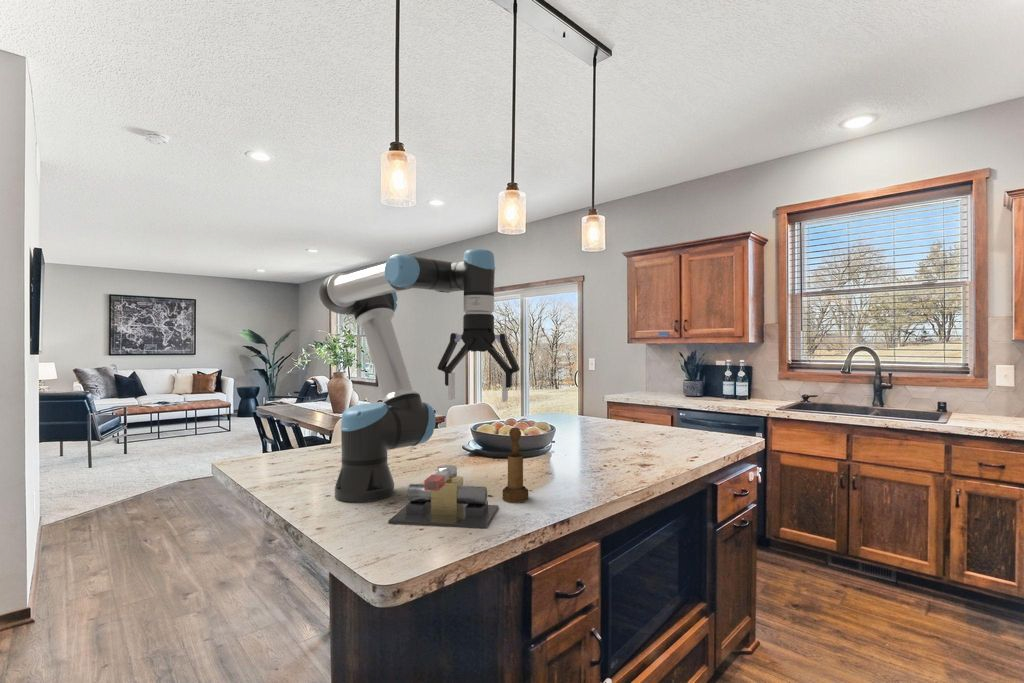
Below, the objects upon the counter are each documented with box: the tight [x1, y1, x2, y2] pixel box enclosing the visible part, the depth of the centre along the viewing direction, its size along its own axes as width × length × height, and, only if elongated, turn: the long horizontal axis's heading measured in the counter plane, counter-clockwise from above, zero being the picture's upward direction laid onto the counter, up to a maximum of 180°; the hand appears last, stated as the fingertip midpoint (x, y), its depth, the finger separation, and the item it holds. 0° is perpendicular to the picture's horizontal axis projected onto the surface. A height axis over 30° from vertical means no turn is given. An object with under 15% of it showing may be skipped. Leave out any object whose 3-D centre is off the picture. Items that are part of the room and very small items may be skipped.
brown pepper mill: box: [502, 427, 529, 504], centre depth 129 cm, size 7×6×18 cm
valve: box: [387, 475, 499, 529], centre depth 117 cm, size 22×14×8 cm, turn 81°
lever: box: [423, 464, 458, 491], centre depth 114 cm, size 14×4×2 cm, turn 171°
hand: (477, 400), depth 125 cm, fingers open, 13 cm apart
